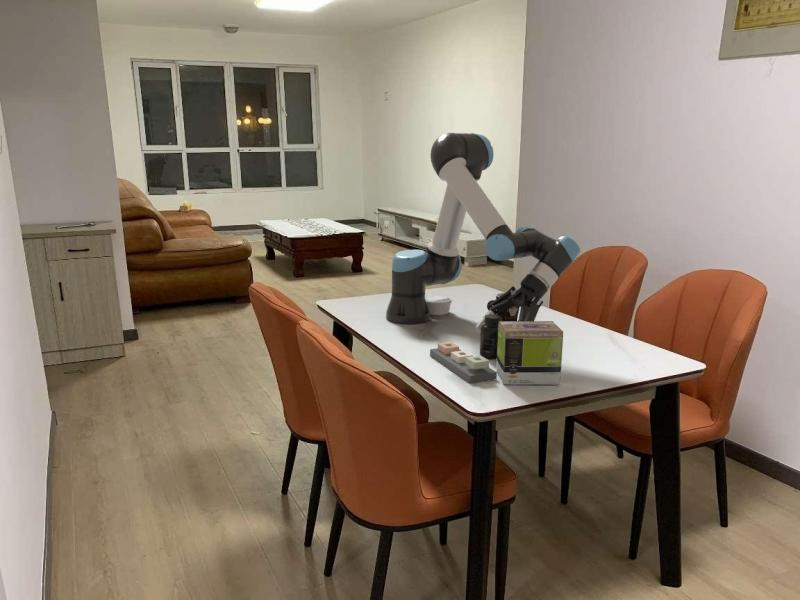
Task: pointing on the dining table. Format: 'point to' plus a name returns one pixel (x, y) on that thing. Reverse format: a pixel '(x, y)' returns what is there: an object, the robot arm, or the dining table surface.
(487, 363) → the key
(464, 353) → the key mid
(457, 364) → the board
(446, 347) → the key
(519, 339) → the tea box
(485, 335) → the supplement bottle
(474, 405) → the dining table surface
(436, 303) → the ramekin
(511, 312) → the coffee mug
